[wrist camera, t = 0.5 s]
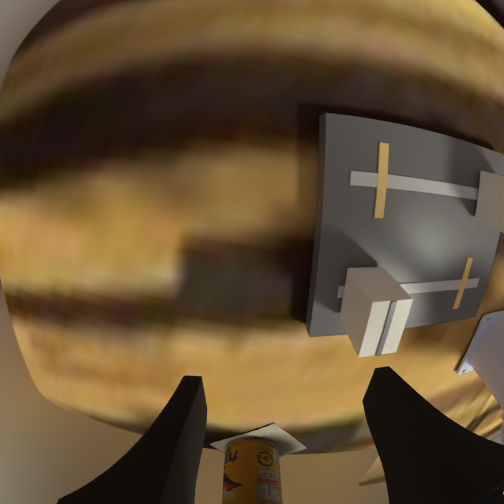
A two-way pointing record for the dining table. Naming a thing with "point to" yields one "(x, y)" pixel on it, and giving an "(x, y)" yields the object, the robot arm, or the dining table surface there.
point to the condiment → (255, 465)
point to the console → (399, 219)
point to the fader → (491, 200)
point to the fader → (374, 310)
